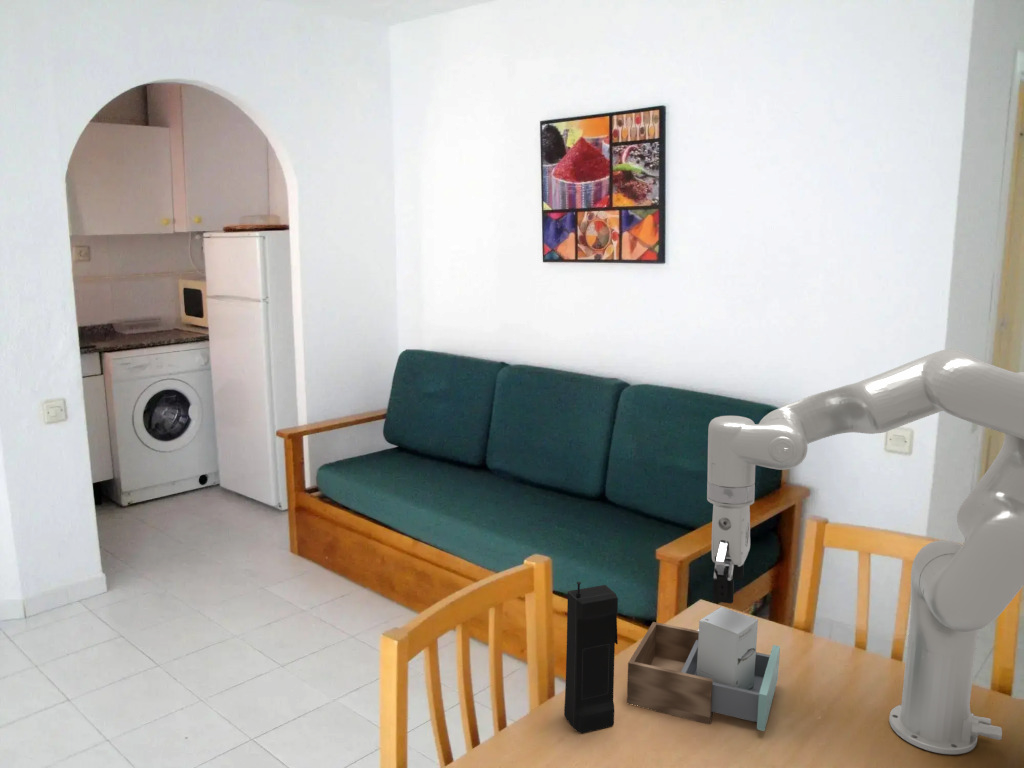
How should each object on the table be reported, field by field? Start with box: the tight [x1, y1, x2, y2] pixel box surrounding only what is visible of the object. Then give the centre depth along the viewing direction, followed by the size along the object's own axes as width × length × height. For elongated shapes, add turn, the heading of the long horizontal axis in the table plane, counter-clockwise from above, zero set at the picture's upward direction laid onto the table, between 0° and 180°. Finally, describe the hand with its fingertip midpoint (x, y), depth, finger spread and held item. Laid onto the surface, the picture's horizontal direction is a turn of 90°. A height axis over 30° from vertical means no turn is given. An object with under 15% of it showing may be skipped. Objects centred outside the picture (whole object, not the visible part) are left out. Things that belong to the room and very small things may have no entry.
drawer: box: [681, 640, 781, 732], centre depth 139 cm, size 14×17×6 cm
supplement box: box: [696, 606, 759, 690], centre depth 139 cm, size 7×7×13 cm
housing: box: [626, 621, 715, 725], centre depth 143 cm, size 14×16×8 cm
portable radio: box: [563, 581, 619, 734], centre depth 132 cm, size 8×6×25 cm
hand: (728, 589), depth 137 cm, fingers open, 9 cm apart
